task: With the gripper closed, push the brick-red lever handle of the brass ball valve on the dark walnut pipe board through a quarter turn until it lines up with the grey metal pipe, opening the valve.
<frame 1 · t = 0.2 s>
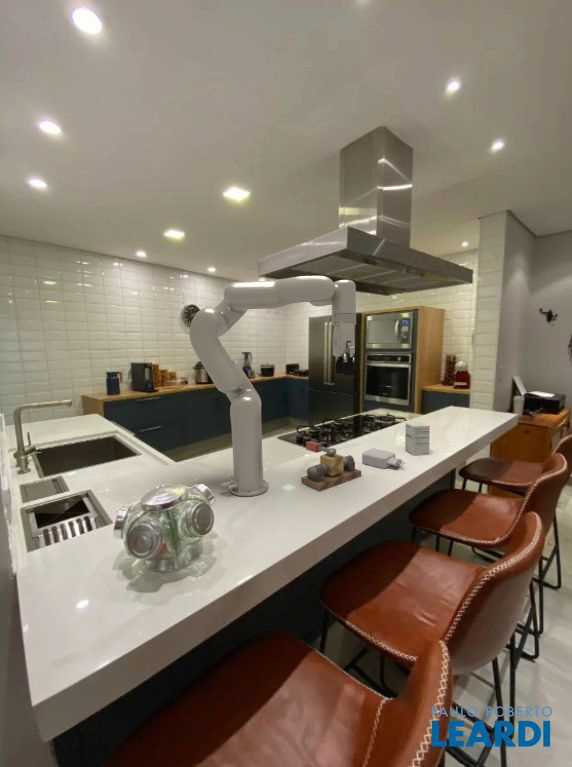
hand: (344, 374, 105), 37 cm above the counter, tool pointing down, fingers open, 9 cm apart
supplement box: (417, 453, 140), on the counter
charger: (385, 466, 126), on the counter
valve lever: (321, 449, 116), point 10 cm above the counter, hinge at 90.0°
pipe board: (332, 479, 113), on the counter
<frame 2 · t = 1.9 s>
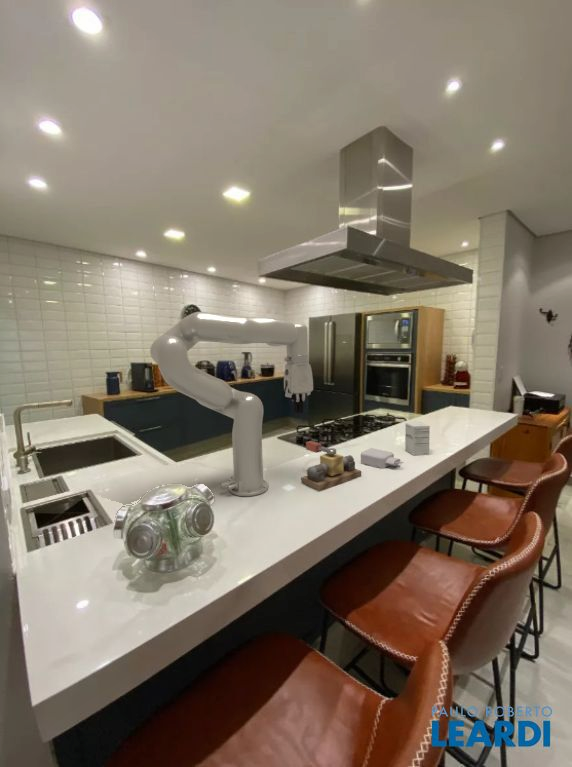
hand: (298, 412, 115), 23 cm above the counter, tool pointing down, fingers closed
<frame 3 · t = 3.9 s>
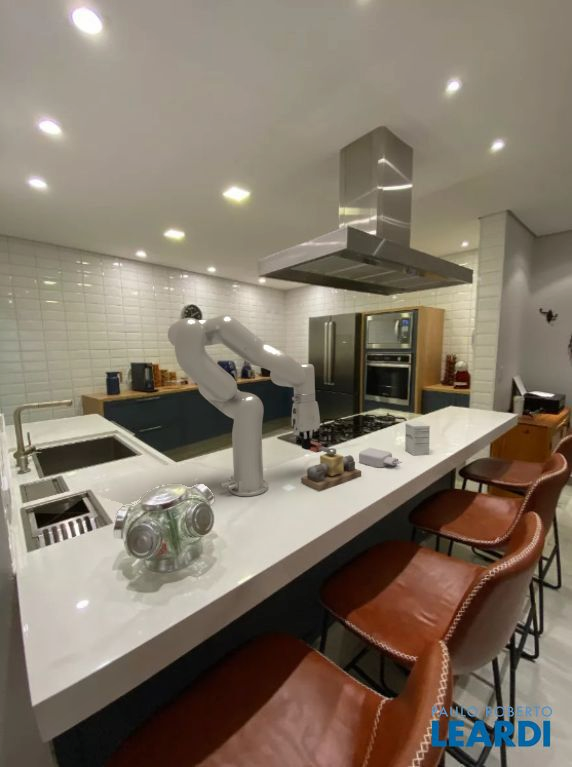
hand: (306, 448, 118), 9 cm above the counter, tool pointing down, fingers closed
valve lever: (321, 448, 116), point 10 cm above the counter, hinge at 89.2°, touching gripper
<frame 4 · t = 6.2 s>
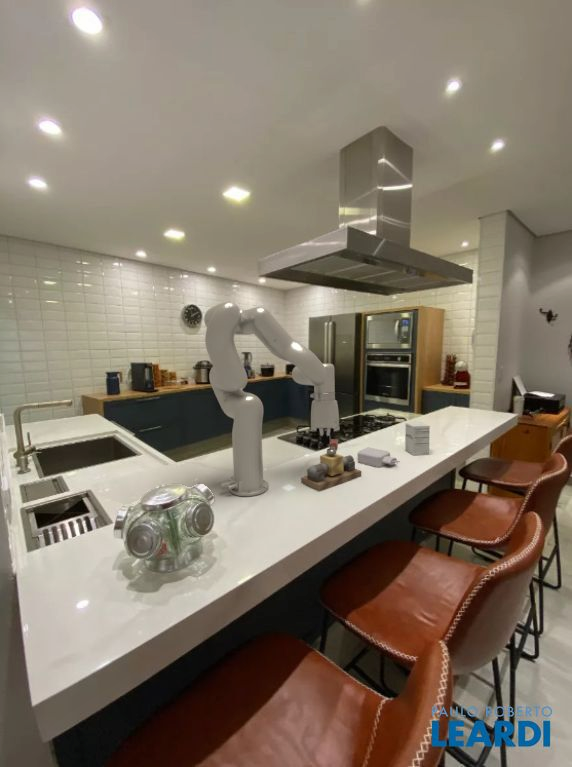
hand: (325, 445, 122), 9 cm above the counter, tool pointing down, fingers closed
valve lever: (332, 447, 117), point 10 cm above the counter, hinge at 40.2°, touching gripper
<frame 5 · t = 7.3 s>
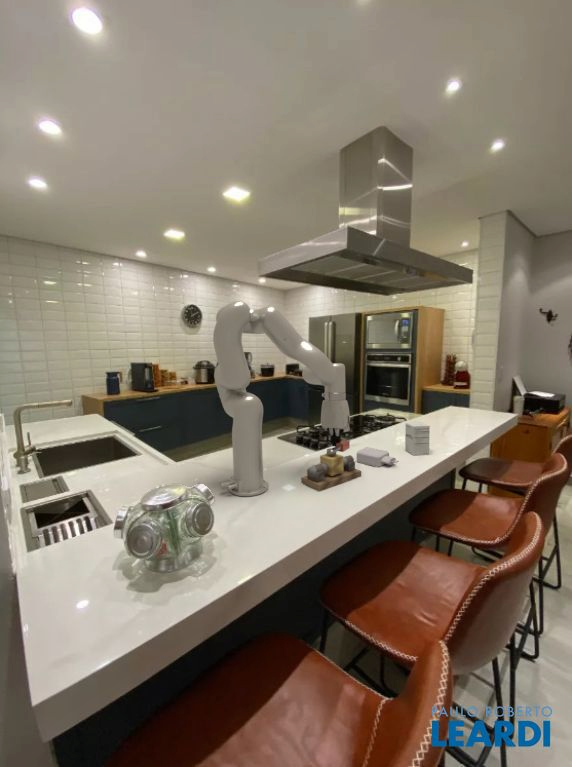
hand: (336, 445, 122), 9 cm above the counter, tool pointing down, fingers closed
valve lever: (338, 448, 116), point 10 cm above the counter, hinge at 18.3°, touching gripper
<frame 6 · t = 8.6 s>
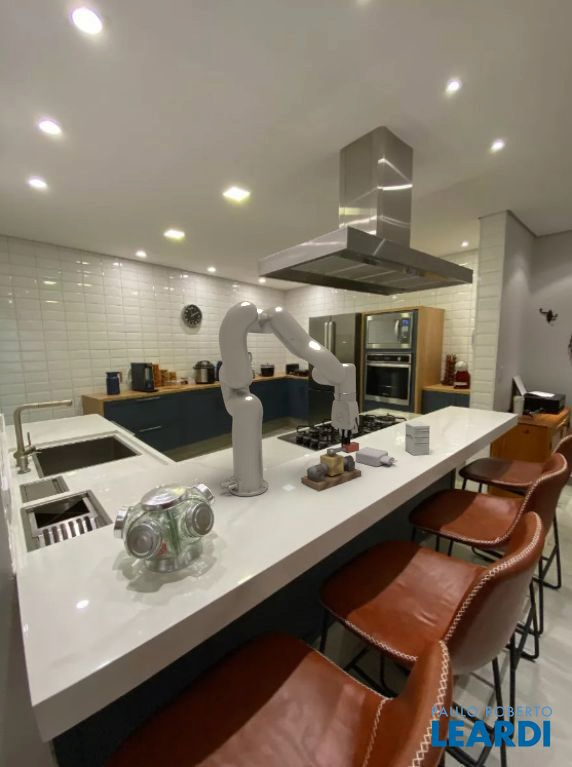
hand: (345, 446, 120), 9 cm above the counter, tool pointing down, fingers closed
valve lever: (342, 449, 115), point 10 cm above the counter, hinge at -2.9°, touching gripper
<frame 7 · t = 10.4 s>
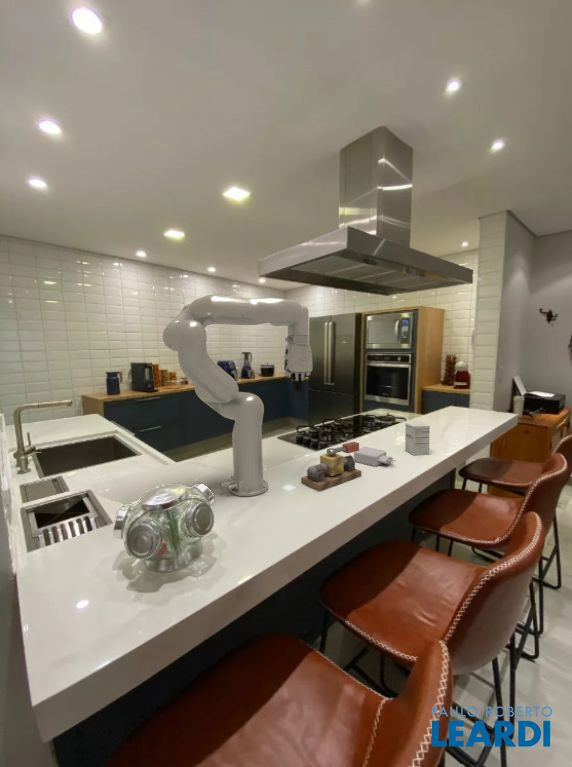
hand: (297, 391, 119), 30 cm above the counter, tool pointing down, fingers closed
valve lever: (342, 449, 115), point 10 cm above the counter, hinge at -2.9°
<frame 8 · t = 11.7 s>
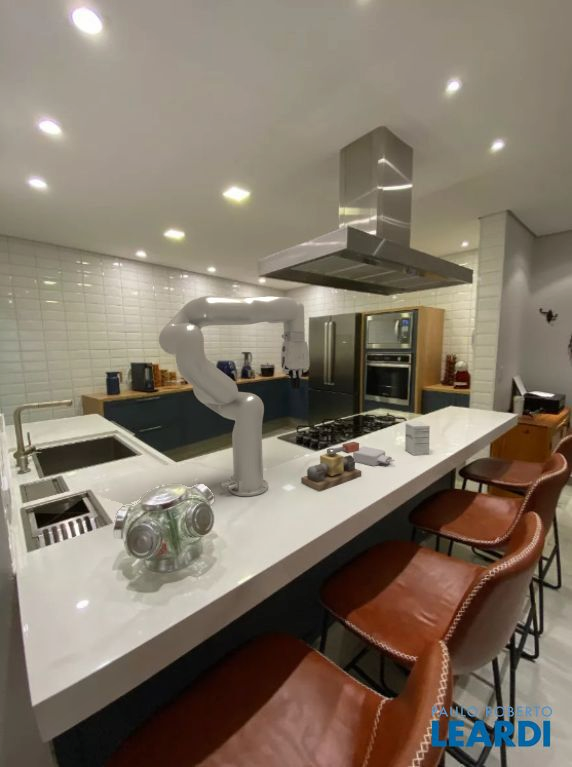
hand: (295, 388, 119), 31 cm above the counter, tool pointing down, fingers closed
at the end: valve lever at -3° (first picture: +90°) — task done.
